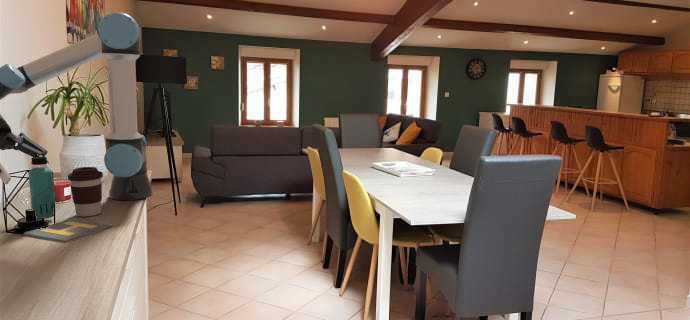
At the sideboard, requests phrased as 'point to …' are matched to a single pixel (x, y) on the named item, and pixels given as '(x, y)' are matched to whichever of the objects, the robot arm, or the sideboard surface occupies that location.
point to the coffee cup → (86, 190)
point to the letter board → (68, 230)
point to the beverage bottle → (41, 188)
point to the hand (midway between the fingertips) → (30, 177)
